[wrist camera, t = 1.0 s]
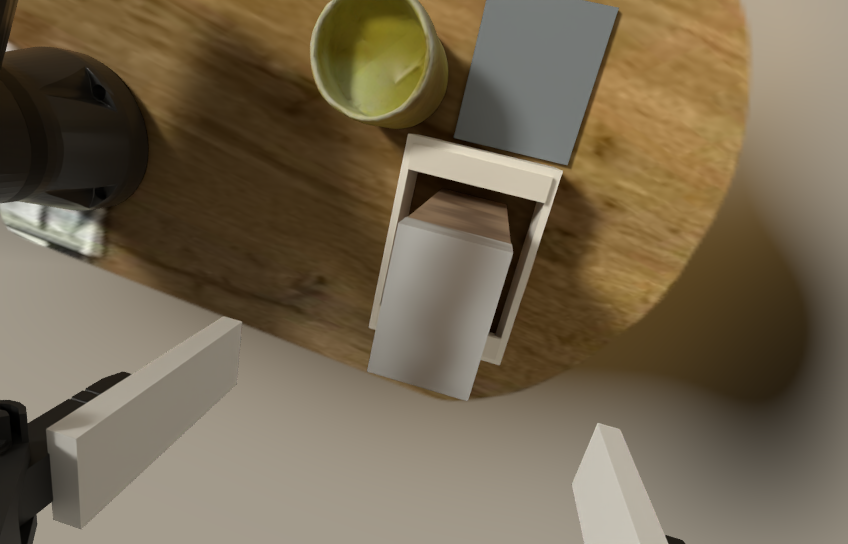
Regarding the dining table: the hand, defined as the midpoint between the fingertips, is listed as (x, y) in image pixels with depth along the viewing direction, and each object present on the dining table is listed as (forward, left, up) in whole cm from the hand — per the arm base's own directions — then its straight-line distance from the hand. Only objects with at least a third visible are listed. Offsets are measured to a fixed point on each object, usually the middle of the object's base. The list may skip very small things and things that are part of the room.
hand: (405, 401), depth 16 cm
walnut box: (0, 0, -26) cm, 27 cm away
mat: (+2, +15, -26) cm, 30 cm away
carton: (0, 0, -26) cm, 27 cm away
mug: (-10, +14, -27) cm, 32 cm away
